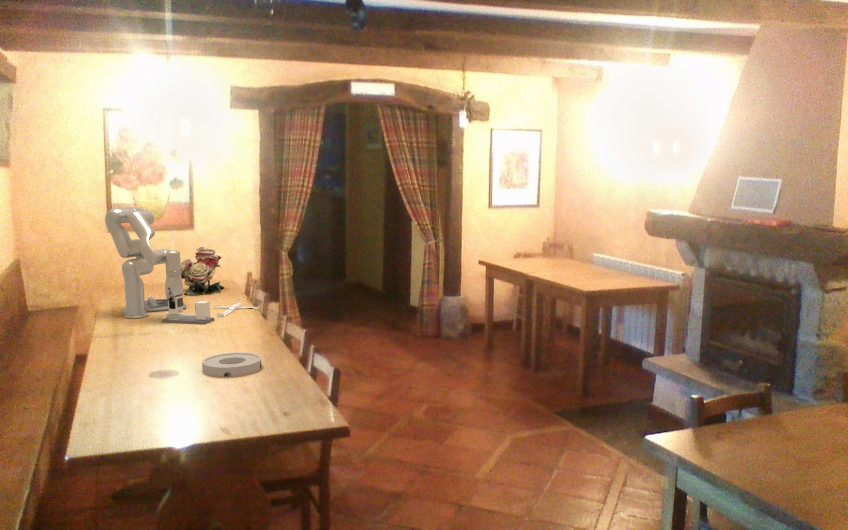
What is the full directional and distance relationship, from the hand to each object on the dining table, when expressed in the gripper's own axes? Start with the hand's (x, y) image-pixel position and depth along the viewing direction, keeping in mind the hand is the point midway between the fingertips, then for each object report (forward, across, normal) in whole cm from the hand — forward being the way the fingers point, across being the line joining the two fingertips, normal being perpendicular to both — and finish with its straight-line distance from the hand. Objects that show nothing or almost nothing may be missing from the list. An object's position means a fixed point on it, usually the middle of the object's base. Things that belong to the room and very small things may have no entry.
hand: (175, 307), depth 382 cm
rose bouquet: (+7, -82, -32) cm, 88 cm away
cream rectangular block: (+3, 0, 0) cm, 3 cm away
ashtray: (+8, +78, +73) cm, 107 cm away
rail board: (+7, 0, +7) cm, 10 cm away
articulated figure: (+8, -28, +17) cm, 34 cm away
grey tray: (+8, -35, -29) cm, 46 cm away
